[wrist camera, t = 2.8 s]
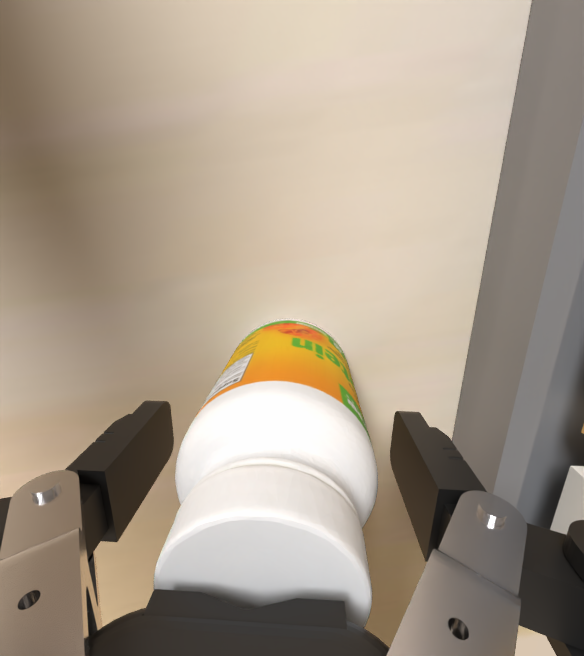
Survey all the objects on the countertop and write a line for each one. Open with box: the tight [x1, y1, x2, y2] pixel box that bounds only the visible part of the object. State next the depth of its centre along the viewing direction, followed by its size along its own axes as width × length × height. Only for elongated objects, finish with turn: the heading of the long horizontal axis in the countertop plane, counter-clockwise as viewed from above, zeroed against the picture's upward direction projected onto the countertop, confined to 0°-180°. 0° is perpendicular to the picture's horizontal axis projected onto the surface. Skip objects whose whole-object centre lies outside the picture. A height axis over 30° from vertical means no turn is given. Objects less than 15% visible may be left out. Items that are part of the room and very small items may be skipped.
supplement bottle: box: [154, 319, 378, 628], centre depth 10 cm, size 5×5×10 cm
